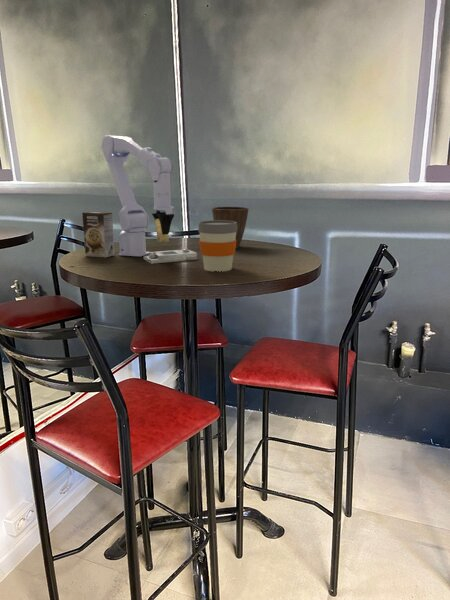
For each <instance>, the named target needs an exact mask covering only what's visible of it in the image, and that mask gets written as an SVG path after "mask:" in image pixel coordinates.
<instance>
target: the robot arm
mask: <svg viewBox="0 0 450 600" xmlns="http://www.w3.org/2000/svg"><path fill="white" fill-rule="evenodd" d="M100 148H101V150H102V153H103V155H104V156H103V157H104V159H105V161H106V163H107V166H108V170H109V172H110V175H111V179H112V181H113V183H114V187H115V190H116V191H117V195H118V198H119V200H120V203H121V206H122V207H121V209H120V210H119V211H118V217H119V225H120V227H121V229H122V231H120V233H119V234H118V235H119V236H118V245H119V247H118V248H119V253H118V256H127V257H130V256H131V257H142V256H143V257H144V256H147V255H149V252H150V251H147V246H146V231H147V229H148V228H149V225H150V217H149V215H148V214H147V212H146V211H145V208H144V207H143V206H142V205H139V204H138V203H137V200H136V198H135V195H134V192H133V189H132V186H131V184H130V180H129V177H128V174H127V173H126V170H125V166H124V164H125V162H127V161H128V159H129V156H130V155H133V156H135V157H136V158H137V160H138V163H140V164H141V165H143V166H144V167H146V168H147V169H148V171H149V173H150V175H151V180H152V183H153V184H152V185H153V186H152V187H153V211H154V212H151V215H152V216H153V219H154V220H155V219H157V218H159V220H160V224H161V230H162V234H163V235H165V234H168V235H170V230H171V224H172V222H173V219H174V217H175V214H174V213H173V209H175V207H174V206H172V205H171V204H172V201H171V200H172V199H171V197H172V196H171V195H172V194H171V174H172V173H173V171H174V162H173V161H172V159H171V158H170V157H169V156H165V157H162V155H161V154H160V153H157V152H155V151H153V148H152V147H144V148H143V147H142V146H140V145H139V144H138V143H136V142H135V141H134V140H133V137H130V136H127V135H124V136H123V135H109V134H105V135H104V136H103V138H102V141H101V147H100Z"/></svg>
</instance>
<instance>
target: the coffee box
mask: <svg viewBox="0 0 450 600" xmlns="http://www.w3.org/2000/svg"><path fill="white" fill-rule="evenodd" d="M81 214H82V227H83V238H84V239H83V241H84V252H85V257H92V258H93V257H94V258H95V257H96V258H105V259H106V258H108V257H111V256H115V242H114V240H115V239H114V221H113V212H109V211H108V212H107V211H83V212H82V213H81Z"/></svg>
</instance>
